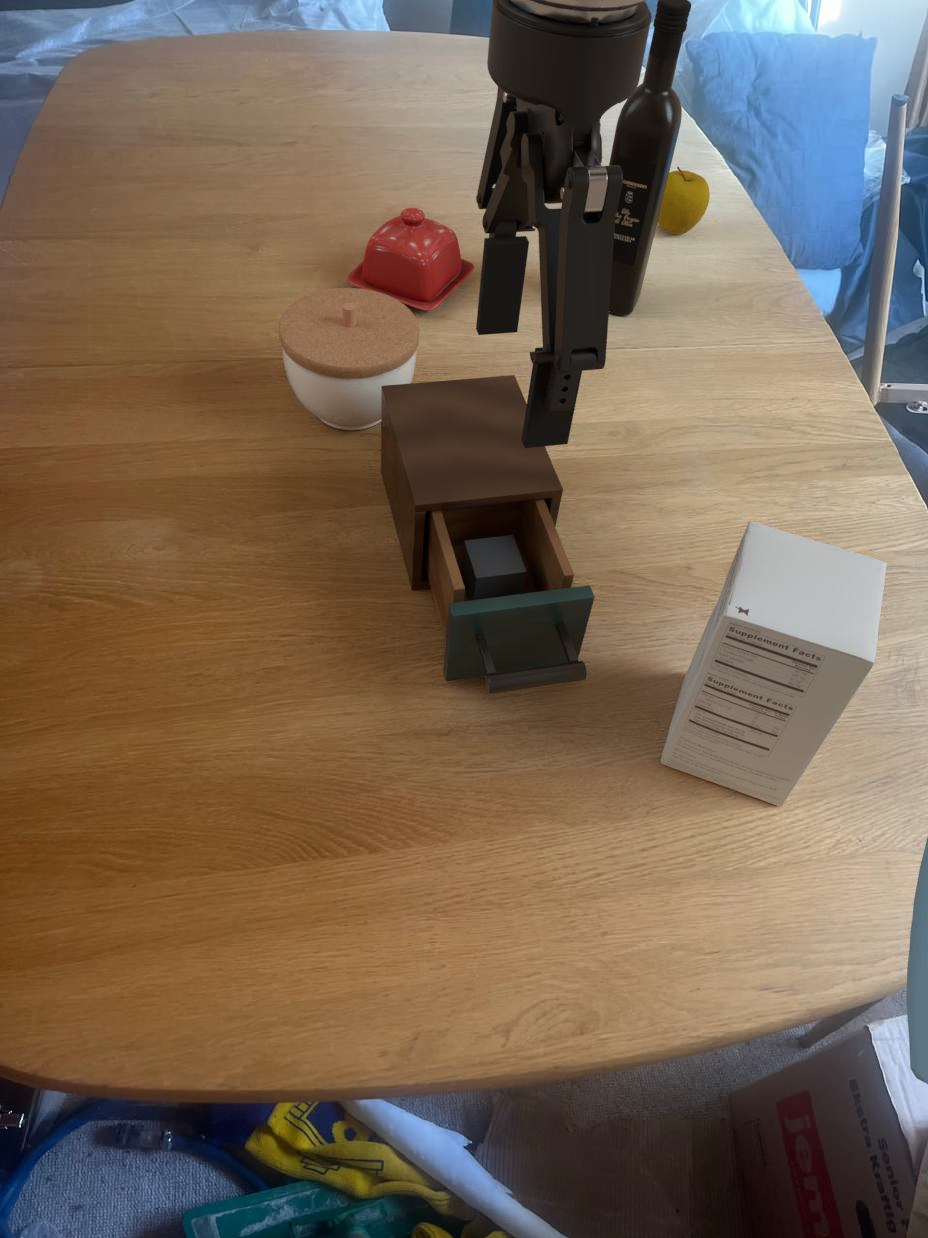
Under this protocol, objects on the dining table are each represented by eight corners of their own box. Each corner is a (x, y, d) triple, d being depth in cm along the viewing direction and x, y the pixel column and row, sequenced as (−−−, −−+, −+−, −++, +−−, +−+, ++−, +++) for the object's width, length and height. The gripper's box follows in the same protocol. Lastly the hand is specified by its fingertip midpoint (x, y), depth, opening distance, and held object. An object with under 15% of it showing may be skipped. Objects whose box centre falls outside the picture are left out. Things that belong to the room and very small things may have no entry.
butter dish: (339, 290, 106) (337, 216, 100) (392, 245, 113) (394, 173, 106) (430, 323, 103) (434, 249, 97) (479, 275, 110) (486, 203, 104)
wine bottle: (629, 319, 107) (699, 17, 84) (580, 306, 108) (636, 4, 85) (641, 294, 110) (712, -3, 87) (593, 281, 111) (651, -15, 88)
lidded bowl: (426, 443, 91) (432, 343, 82) (292, 454, 88) (283, 352, 80) (404, 363, 98) (407, 264, 90) (280, 371, 96) (271, 270, 88)
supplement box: (782, 811, 68) (878, 668, 55) (657, 766, 70) (721, 618, 57) (801, 708, 74) (892, 558, 61) (685, 669, 76) (749, 515, 63)
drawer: (597, 715, 71) (617, 650, 65) (460, 737, 69) (468, 672, 63) (530, 539, 82) (542, 470, 76) (411, 553, 80) (414, 483, 74)
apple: (638, 222, 121) (652, 159, 115) (680, 215, 123) (696, 152, 117) (665, 248, 117) (681, 183, 111) (708, 240, 119) (726, 176, 113)
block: (507, 569, 78) (513, 534, 75) (520, 605, 76) (526, 571, 73) (460, 574, 78) (463, 540, 74) (471, 612, 75) (475, 578, 72)
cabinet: (546, 573, 81) (563, 489, 74) (411, 590, 79) (415, 505, 71) (502, 459, 90) (514, 374, 83) (380, 472, 88) (381, 385, 80)
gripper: (750, 98, 38) (635, 502, 55) (575, -85, 52) (526, 279, 69) (571, 102, 37) (509, 516, 53) (441, -88, 51) (424, 286, 68)
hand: (519, 383), depth 61 cm, fingers open, 11 cm apart
